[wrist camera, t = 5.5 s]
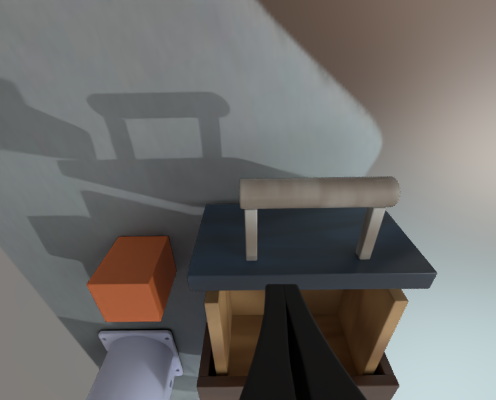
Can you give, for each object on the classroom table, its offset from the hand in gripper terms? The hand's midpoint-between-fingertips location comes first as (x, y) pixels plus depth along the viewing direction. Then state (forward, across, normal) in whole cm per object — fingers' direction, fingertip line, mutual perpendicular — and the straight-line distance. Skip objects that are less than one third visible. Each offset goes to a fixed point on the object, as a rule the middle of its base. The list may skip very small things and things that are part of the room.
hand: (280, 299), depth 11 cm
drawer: (+8, -2, +4) cm, 9 cm away
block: (+9, +10, +6) cm, 15 cm away
